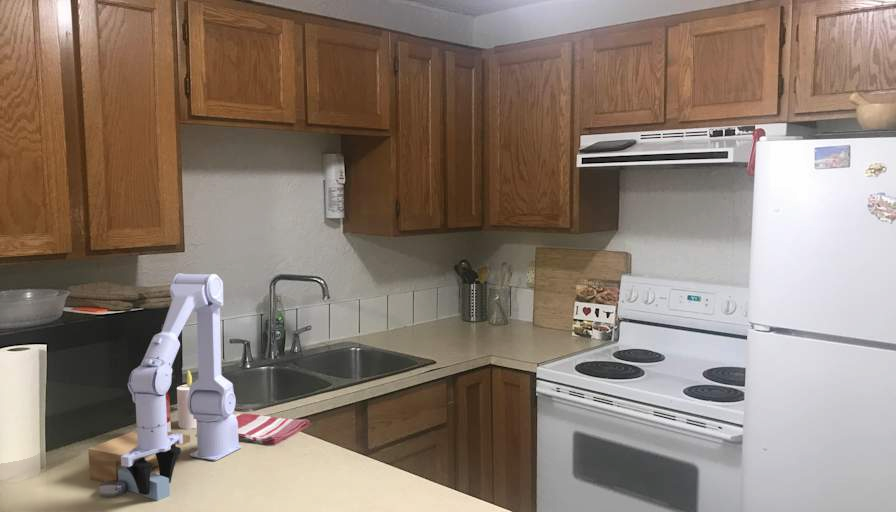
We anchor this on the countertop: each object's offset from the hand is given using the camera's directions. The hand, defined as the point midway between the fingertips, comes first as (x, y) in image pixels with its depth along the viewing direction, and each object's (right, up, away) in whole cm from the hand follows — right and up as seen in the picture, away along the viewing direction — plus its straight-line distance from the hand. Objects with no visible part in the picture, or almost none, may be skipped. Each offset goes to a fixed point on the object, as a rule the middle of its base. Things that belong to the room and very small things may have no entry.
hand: (155, 488), depth 147 cm
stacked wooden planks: (-8, 0, +13) cm, 15 cm away
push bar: (-3, -2, +2) cm, 4 cm away
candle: (-8, +2, +44) cm, 45 cm away
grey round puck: (-9, -2, +2) cm, 10 cm away
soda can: (-14, +1, +35) cm, 38 cm away
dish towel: (+10, +1, +40) cm, 41 cm away
